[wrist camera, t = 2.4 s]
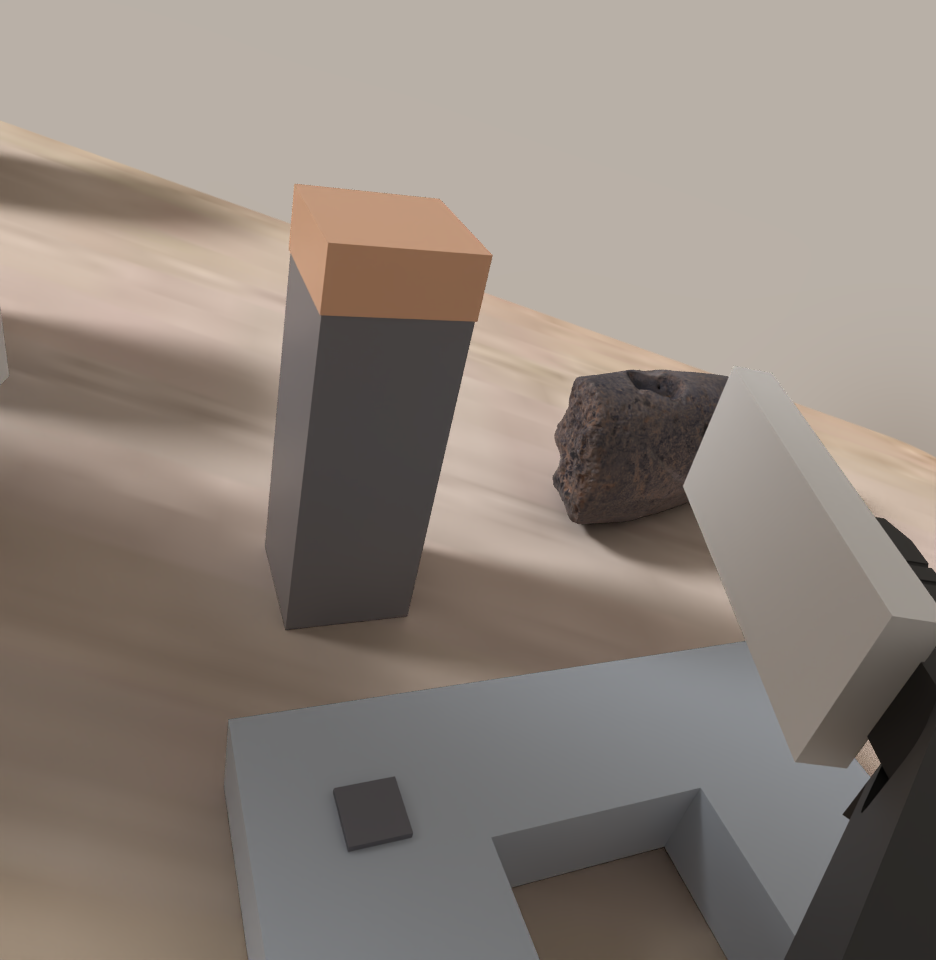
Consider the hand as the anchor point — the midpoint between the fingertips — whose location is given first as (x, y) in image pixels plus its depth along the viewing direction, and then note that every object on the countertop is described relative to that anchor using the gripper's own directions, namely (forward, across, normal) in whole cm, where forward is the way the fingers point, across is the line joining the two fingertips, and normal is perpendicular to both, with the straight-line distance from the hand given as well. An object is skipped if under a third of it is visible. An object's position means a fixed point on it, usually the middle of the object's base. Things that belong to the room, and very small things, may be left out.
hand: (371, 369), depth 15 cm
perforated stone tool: (+20, +14, -15) cm, 28 cm away
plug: (+10, 0, -14) cm, 17 cm away
